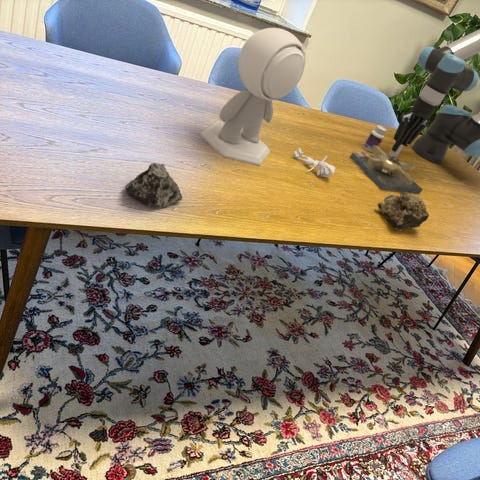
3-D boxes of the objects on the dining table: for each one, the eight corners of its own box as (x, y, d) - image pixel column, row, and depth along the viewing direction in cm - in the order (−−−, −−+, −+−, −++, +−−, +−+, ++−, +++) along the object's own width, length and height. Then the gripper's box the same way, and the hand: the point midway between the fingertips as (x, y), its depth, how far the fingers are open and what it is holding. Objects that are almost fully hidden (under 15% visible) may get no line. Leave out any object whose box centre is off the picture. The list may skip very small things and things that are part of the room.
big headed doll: (234, 168, 125) (287, 43, 105) (188, 124, 136) (228, 4, 116) (281, 163, 139) (335, 52, 119) (235, 124, 149) (278, 16, 130)
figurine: (308, 139, 148) (347, 160, 141) (306, 152, 152) (343, 172, 145) (285, 156, 141) (324, 177, 135) (283, 168, 145) (321, 190, 139)
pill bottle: (375, 154, 178) (388, 133, 172) (362, 149, 177) (375, 127, 172) (374, 149, 182) (387, 128, 176) (362, 144, 182) (375, 122, 176)
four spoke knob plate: (391, 155, 175) (397, 145, 172) (427, 189, 161) (435, 179, 158) (350, 148, 164) (356, 138, 161) (385, 184, 150) (392, 173, 147)
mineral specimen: (365, 203, 139) (382, 177, 134) (393, 206, 146) (411, 181, 140) (392, 234, 130) (411, 207, 124) (421, 235, 136) (441, 210, 131)
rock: (142, 225, 94) (181, 198, 93) (114, 186, 93) (153, 158, 91) (157, 217, 107) (191, 193, 105) (133, 182, 106) (167, 158, 104)
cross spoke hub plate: (387, 162, 175) (391, 155, 174) (419, 193, 163) (425, 186, 161) (349, 157, 165) (354, 149, 163) (381, 189, 152) (386, 181, 150)
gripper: (433, 99, 161) (396, 155, 174) (409, 92, 154) (372, 151, 167) (447, 109, 156) (408, 166, 169) (423, 102, 149) (384, 162, 162)
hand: (390, 158), depth 168 cm, fingers closed
